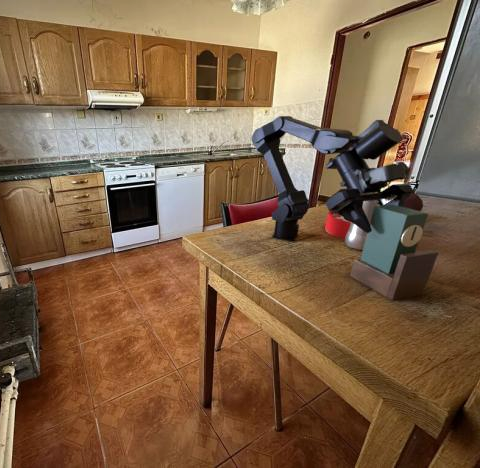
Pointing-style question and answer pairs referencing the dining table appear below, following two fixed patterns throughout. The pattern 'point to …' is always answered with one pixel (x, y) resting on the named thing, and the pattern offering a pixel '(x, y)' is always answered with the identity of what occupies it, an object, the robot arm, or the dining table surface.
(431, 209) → the dining table surface
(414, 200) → the potato
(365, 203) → the silver metal bottle
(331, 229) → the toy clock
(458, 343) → the dining table surface
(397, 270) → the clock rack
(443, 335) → the dining table surface
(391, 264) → the clock
